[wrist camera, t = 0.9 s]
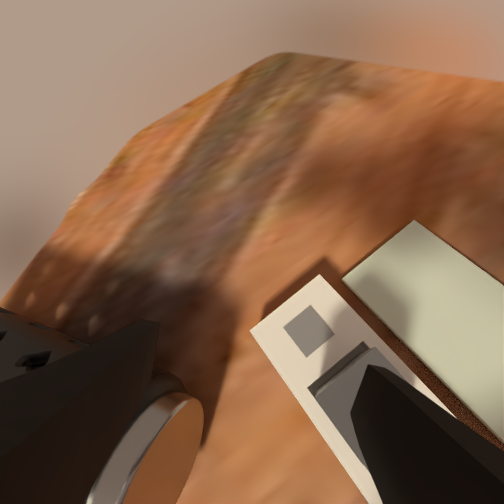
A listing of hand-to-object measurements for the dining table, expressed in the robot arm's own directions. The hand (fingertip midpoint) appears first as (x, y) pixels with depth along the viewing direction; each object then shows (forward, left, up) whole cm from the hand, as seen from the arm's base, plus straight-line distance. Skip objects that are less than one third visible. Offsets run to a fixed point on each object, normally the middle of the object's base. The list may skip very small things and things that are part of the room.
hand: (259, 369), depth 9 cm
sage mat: (-4, -11, -13) cm, 18 cm away
